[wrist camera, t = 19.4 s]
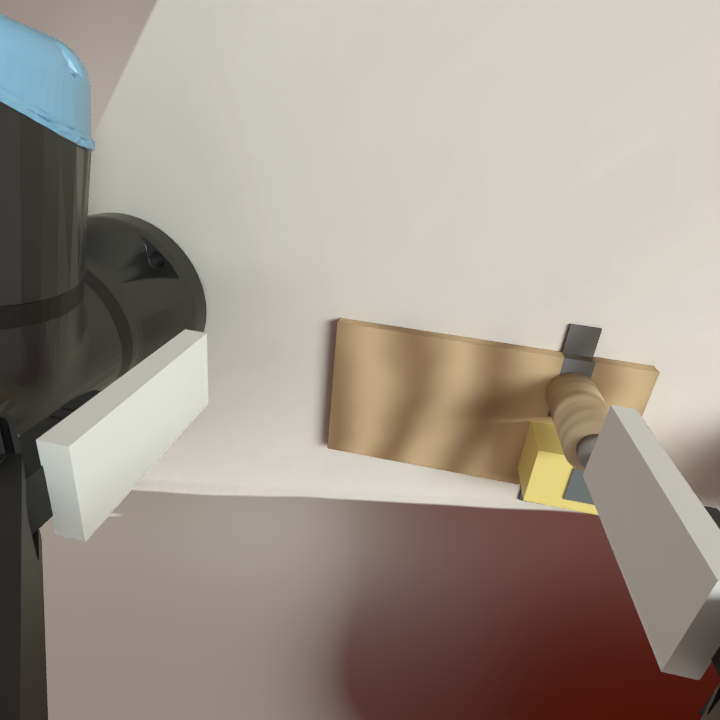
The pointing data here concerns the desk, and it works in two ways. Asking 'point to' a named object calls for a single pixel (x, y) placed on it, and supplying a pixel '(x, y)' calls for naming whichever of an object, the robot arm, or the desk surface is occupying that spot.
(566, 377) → the awl
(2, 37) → the robot arm
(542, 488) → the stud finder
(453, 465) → the board
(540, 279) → the desk surface
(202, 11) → the desk surface
